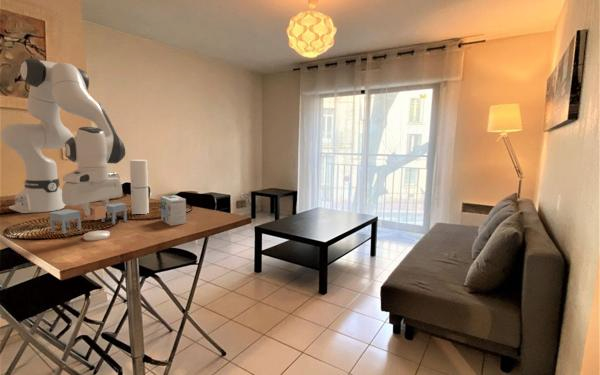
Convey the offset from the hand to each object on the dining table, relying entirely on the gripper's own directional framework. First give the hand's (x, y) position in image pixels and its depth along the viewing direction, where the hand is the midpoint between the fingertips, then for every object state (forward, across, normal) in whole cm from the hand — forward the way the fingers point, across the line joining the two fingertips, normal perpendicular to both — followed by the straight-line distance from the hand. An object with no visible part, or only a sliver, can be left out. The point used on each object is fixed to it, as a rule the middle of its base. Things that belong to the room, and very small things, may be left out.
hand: (96, 213), depth 110 cm
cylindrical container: (+9, -33, -13) cm, 37 cm away
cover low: (+9, 0, -15) cm, 18 cm away
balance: (+9, -19, -18) cm, 28 cm away
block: (+2, 0, 0) cm, 2 cm away
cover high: (+9, -17, -11) cm, 22 cm away
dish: (+9, 0, 0) cm, 9 cm away
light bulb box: (+9, -28, +10) cm, 31 cm away
